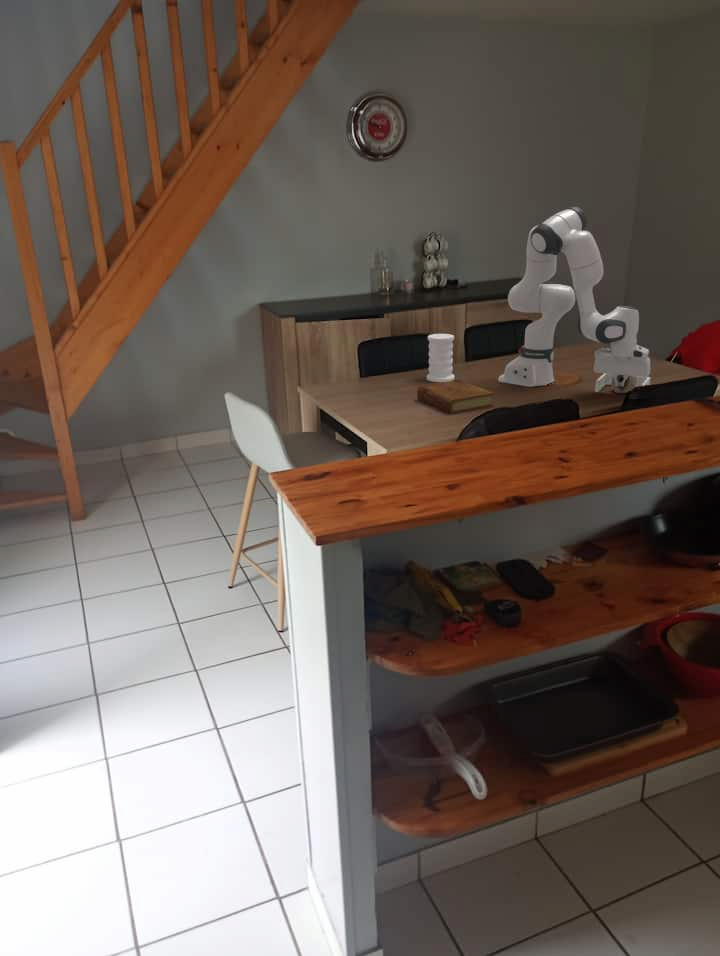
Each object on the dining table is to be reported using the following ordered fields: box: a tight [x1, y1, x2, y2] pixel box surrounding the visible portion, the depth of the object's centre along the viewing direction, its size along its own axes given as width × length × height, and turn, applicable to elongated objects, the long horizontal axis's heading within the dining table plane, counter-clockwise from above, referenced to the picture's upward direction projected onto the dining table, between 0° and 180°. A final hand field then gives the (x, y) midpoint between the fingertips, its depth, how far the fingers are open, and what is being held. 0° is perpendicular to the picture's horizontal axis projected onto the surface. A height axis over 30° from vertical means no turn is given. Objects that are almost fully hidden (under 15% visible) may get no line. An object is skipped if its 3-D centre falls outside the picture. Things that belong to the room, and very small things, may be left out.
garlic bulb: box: [610, 375, 636, 394], centre depth 284 cm, size 9×8×10 cm
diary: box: [416, 379, 495, 415], centre depth 278 cm, size 23×19×6 cm
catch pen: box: [594, 373, 652, 393], centre depth 287 cm, size 18×14×4 cm
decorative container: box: [426, 333, 455, 383], centre depth 310 cm, size 12×12×18 cm
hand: (619, 386), depth 281 cm, fingers closed, pressing on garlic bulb
